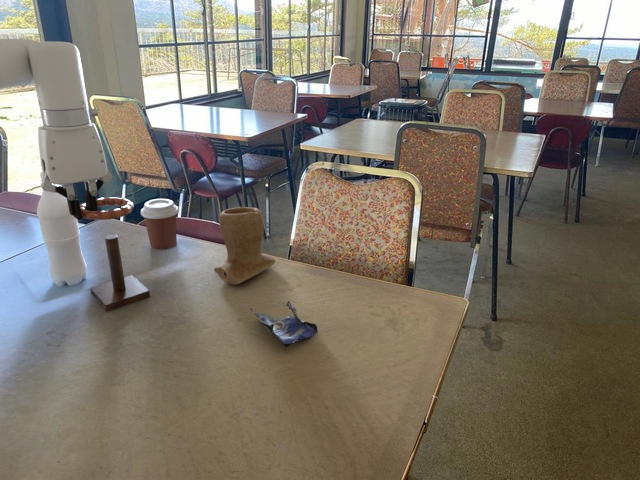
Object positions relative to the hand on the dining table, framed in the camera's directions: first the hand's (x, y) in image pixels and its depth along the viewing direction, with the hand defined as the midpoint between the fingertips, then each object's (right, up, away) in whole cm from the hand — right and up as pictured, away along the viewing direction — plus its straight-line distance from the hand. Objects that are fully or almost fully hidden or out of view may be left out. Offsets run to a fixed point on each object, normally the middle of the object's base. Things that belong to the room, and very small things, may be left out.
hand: (84, 215), depth 91 cm
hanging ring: (+3, +2, +2) cm, 4 cm away
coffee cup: (+4, -7, +33) cm, 34 cm away
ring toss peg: (+3, -16, +10) cm, 19 cm away
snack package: (+38, -22, 0) cm, 44 cm away
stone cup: (+26, -12, +22) cm, 36 cm away
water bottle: (-10, -14, +15) cm, 23 cm away
